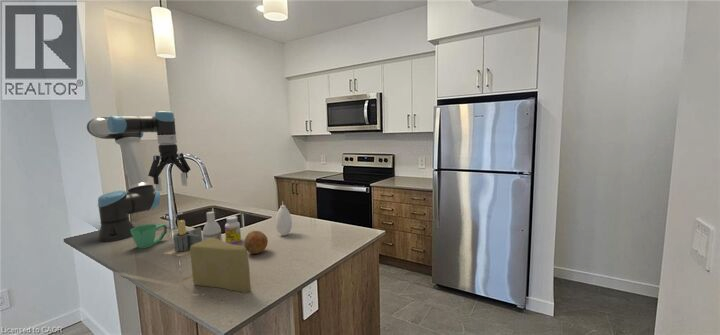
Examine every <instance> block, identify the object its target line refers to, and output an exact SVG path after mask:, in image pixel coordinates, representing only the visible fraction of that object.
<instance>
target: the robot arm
mask: <svg viewBox="0 0 720 335" xmlns="http://www.w3.org/2000/svg"><path fill="white" fill-rule="evenodd" d="M86 130H87V132H88V133H89V134H90V135H91V136H93V137H95V138H98V139H102V140H103V139H104V140H113V139H114V142H115V143H116V144H117V145H119V148H120V150H121V155H122V158H123V163H124V167H125V171H126V176H127V178H128V183H129V187H128V189H127V191H126V190H118V191H117V190H116V191H112V192H111V191H110V192H107V193H104V194H102V195H100V196H99V197H98V199H97V207H98V212H99V220H100V228H99V232H98V236H97V238H98V239H97V240H98V241H99V242H104V243H105V242H114V241H120V240H123V239H127V238H130V237H133V236H132V234H131V231H130V230H131V229H132V228H134V226H133V224H132V222H131V219H130V215H132V214H138V213H142V212H147V211H151V210H152V211H153V210H155V209H157V208H158V207H159V206H160V203H161V192H162V189H163V188H162V187H163V186H162V179H161V176H160V175H161V173H162V172H163V170H164V169H165V166H167V165H171V164H174V165H175V166H176V167H177V168H178V169H179V170H180V179H181V186H185V187H187V186H188V180H187V179H188V173H189V171H191V167H190V166H189V164H188V162H187V161H186V159H184V158H185V156H184V153H183V152H178V144H177V132H176V119H175V115H174V112H173V111H170V110H169V111H168V110H165V111H164V110H158V111H155V113H154V116H148V115H147V116H143V115H142V116H141V115H140V116H139V115H138V116H137V115H135V116H133V115H132V116H131V115H110V116H109V117H108V116H107V117H106V116H103V117H96V118H92V119H91V120H89V121H88V122H87V124H86ZM144 133H156V135H157V144H158V152H159V155H153V156H152V157H153V160H152V163H151V167H150V169H149V172H148V174H147V170H146V166H145V163H144V158H143V155H142V150H141V147H140V142H141V141H142V139H141V138H142V137H143V136H144ZM148 177H151V178H152V179H153V184H152V183H150V182H149V179H148ZM154 185H155V187H154Z"/></svg>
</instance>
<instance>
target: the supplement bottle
mask: <svg viewBox="0 0 720 335" xmlns="http://www.w3.org/2000/svg"><path fill="white" fill-rule="evenodd" d="M240 223H241V222H239V221H238V216H234V215H233V216H228V217H226V223H225V225H224V232H225V234H224V235H225V242H226V243H230V244H234V245H236V244H238V243H240V242H241V241H242V235H241V225H240Z"/></svg>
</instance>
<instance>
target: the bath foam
mask: <svg viewBox="0 0 720 335" xmlns="http://www.w3.org/2000/svg"><path fill="white" fill-rule="evenodd" d="M209 238H216V239H218V240H221V241H223V239H222V238H223V237H222V228H221V226H220V224H219V223H218V222H217V220H216V219H215V211H208V212H206V222H205V224H204V227H203V229H202V241H203V240H206V239H209Z"/></svg>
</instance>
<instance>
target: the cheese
mask: <svg viewBox="0 0 720 335" xmlns="http://www.w3.org/2000/svg"><path fill="white" fill-rule="evenodd" d="M190 254H191V256H190V261H191V269H192V281H193V282H192V283H193V285H194V286H203V287H211V288H219V289H224V290H228V289H229V290H230V291H233V290H234V291H235V292H240V291H241V292H240V293H249V292H250V291H251V289H252V287H251V286H252V285H251V277H250V276H251V273H250V264H249V256H248V251H247V249H246V248H245V246H244V245H243V246H242V245H238V244H230V243H226V241H223V240H222V241H221V240H218V239H216V238H209V239H206V240H203V239H202V241H201V242H198V243H196V244H193V245H191V246H190ZM229 290H228V291H229Z"/></svg>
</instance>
